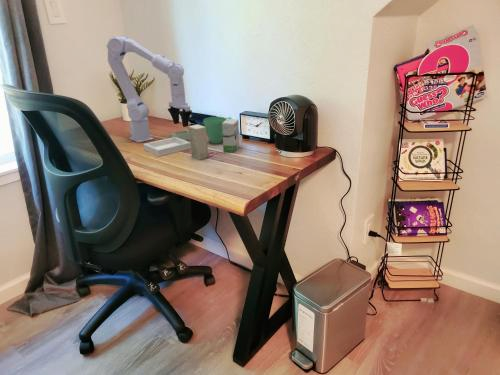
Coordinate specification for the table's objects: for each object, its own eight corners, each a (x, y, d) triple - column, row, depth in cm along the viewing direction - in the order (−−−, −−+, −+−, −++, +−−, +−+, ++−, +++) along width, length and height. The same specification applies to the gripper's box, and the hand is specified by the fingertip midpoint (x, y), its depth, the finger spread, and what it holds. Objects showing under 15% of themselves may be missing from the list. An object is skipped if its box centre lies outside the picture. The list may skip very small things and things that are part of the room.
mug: (214, 146, 164) (212, 123, 160) (200, 142, 171) (198, 119, 167) (240, 139, 174) (239, 117, 170) (226, 135, 180) (225, 113, 176)
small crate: (171, 140, 175) (170, 133, 174) (186, 137, 180) (186, 129, 178) (177, 143, 172) (176, 135, 170) (192, 139, 176) (192, 131, 175)
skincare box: (208, 157, 152) (206, 126, 147) (198, 160, 149) (196, 129, 144) (200, 153, 156) (198, 123, 151) (190, 156, 154) (188, 125, 149)
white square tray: (144, 149, 163) (143, 143, 162) (175, 142, 172) (175, 136, 171) (158, 156, 154) (157, 150, 153) (191, 148, 163) (190, 142, 162)
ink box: (234, 152, 156) (233, 123, 152) (223, 152, 157) (221, 123, 153) (239, 146, 164) (238, 118, 160) (228, 145, 165) (227, 118, 161)
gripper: (195, 94, 165) (197, 126, 170) (177, 91, 175) (180, 120, 181) (180, 97, 161) (183, 129, 166) (163, 93, 171) (166, 123, 176)
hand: (181, 125), depth 173 cm, fingers open, 7 cm apart
